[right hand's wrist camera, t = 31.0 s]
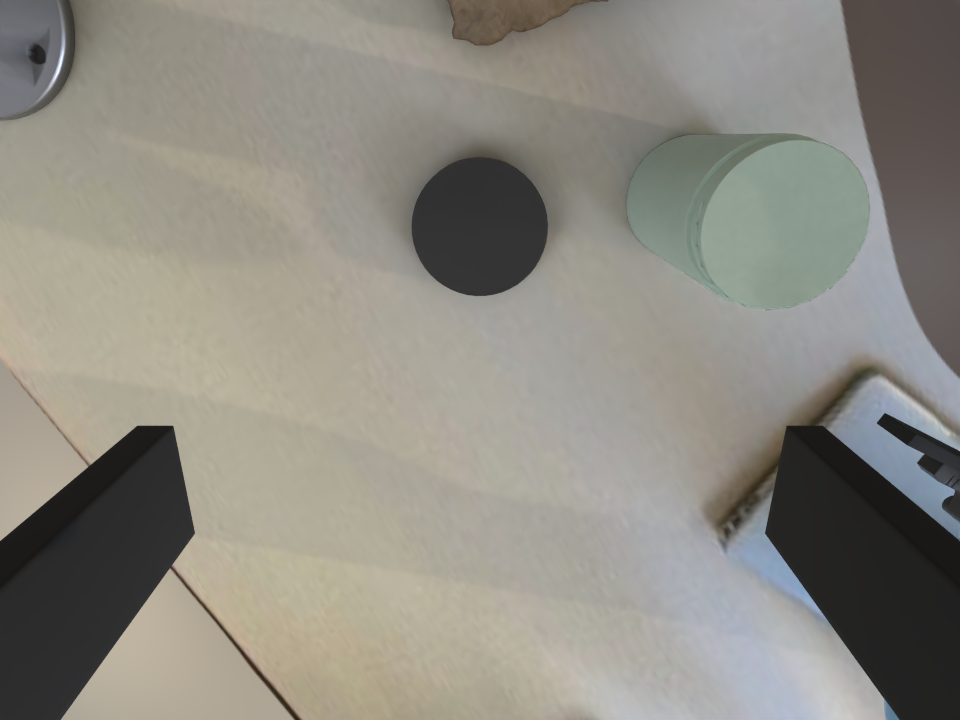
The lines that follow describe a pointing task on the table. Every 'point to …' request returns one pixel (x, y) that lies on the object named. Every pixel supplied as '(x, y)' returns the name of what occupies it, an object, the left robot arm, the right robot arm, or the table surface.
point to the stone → (503, 17)
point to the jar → (751, 214)
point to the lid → (479, 226)
